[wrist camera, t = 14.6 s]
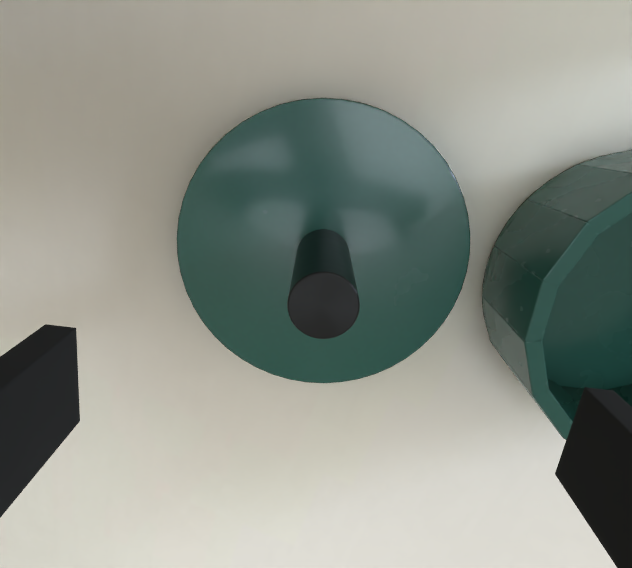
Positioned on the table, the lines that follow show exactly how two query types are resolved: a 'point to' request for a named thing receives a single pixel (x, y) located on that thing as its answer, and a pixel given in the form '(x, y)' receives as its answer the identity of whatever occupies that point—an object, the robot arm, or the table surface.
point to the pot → (567, 288)
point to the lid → (323, 240)
